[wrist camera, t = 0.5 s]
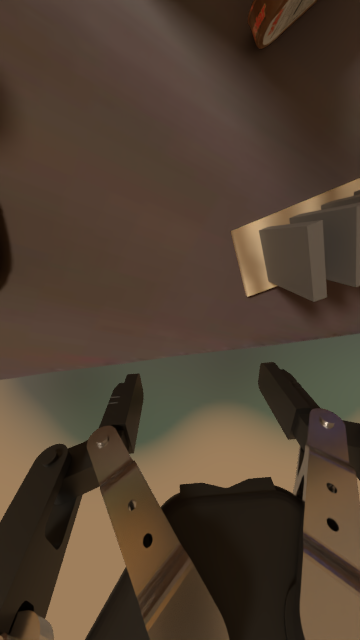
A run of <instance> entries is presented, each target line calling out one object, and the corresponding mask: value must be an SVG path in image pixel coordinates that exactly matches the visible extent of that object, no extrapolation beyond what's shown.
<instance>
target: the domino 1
mask: <svg viewBox="0 0 360 640" xmlns="http://www.w3.org/2000/svg"><path fill="white" fill-rule="evenodd" d="M259 234H260V240H261V245H262V250H263V256H264V261H265V266H266V272H267V277H268V281H269V282H271V283H273V284H275V285H277V286H280V287H282V288H284V289H286V290H288V291H291V292H293V293H295V294H297V295H300V296H302V297H304V298H306V299H308V300H311V301H313V302H315V301H318V300H321V299H324V298H327V288H326V270H325V253H324V235H323V220H319V221H310V222H302V223H294V224H286V225H278V226H270V227H266V228H264V229H261V230H259Z"/></svg>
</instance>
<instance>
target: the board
mask: <svg viewBox="0 0 360 640" xmlns="http://www.w3.org/2000/svg"><path fill="white" fill-rule="evenodd" d="M358 190H360V178H359V179H356V180H354V181H351V182H349V183H347V184H344V185H342V186H339V187H337V188H334V189H332V190H330V191H327V192H325V193H322V194H320V195H318V196H315V197H313V198H310V199H308V200H305V201H303V202H301V203H298V204H296V205H293V206H291V207H288V208H286V209H284V210H281V211H279V212H276V213H274V214H272V215H269V216H267V217H264V218H262V219H259V220H257V221H255V222H252V223H250V224H247V225H245V226H242V227H240V228H238V229H235V230H233V231H231V235H232V239H233V244H234V248H235V252H236V256H237V260H238V264H239V268H240V272H241V276H242V280H243V284H244V288H245V292H246V296H247V297H249V296H252V295H254V294H257V293H260V292H262V291H265V290H268V289H271V288H273V287H276V286H277V285H275V284H273V283H271V282H269V281H268V277H267V272H266V266H265V261H264V256H263V250H262V245H261V240H260V234H259V230H261V229H264V228H266V227H270V226H278V225H286V224H290V221H289V218H291V217H293V216H296V215H298V214H302V213H308V212H313V211H318V210H321V205H323V204H325V203H328V202H330V201H334V200H338V199H342V198H347V197H351V196H354V192H355V191H358Z"/></svg>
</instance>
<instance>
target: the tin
mask: <svg viewBox="0 0 360 640" xmlns="http://www.w3.org/2000/svg"><path fill="white" fill-rule="evenodd" d="M317 1H318V0H254V1H253V3H252V6H251V8H250V11H249V15H248V24H249V26H250V28H251V31H252V34H253V37H254V40H255V43H256V45H257V47H258V48H259V49H263V48H265V47H267V46H268V45H269V44H271V43H272V42H273V41H274V40H275V39H276V38H278V37H279V36H280V35H281V34H282V33H283V32H284V31H285V30H286V29H287V28H288V27H290V26H291V25H292V24H293V23H294V22H295V21H296V20H297V19H298V18H299V17H301V16H302V15H303V14H304V13H305V12H306V11H307V10H308V9H309V8H310V7H311V6H312V5H313V4H314V3H316V2H317Z"/></svg>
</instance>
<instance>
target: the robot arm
mask: <svg viewBox="0 0 360 640" xmlns="http://www.w3.org/2000/svg"><path fill="white" fill-rule="evenodd" d="M258 385H259V389H260V391H261V393H262V395H263V396H264V398H265V400H266V401H267V403H268V405H269V407H270V409H271V410H272V412H273V414H274V416H275V417H276V419H277V421H278V423H279V424H280V426H281V428H282V430H283V431H284V433H285V435H286V437H287V438H288V439H296V440H297V441H298V443H299V445H300V447H299V454H298V462H297V471H296V480H295V485H294V490H293V494H292V493H291V492H289V491H287V490H285V489H283V488H281V487H278V486H274V484H273V482H272V479H271V477H265V478H253V479H247V480H245V481H242V482H241V483H238V484H236V485H234V486H231V487H229V488H222V487H218V486H214V485H209V484H205V483H194V484H182V485H180V493H178V494H176V495H174V496H172V497H171V498H170V499H168V500H167V501H166V502H165V503H164V504H163V505H162V506H161V507H160V506H159V504H158V502H157V500H156V498H155V497H154V495H153V493H152V491H151V489H150V488H149V486H148V484H147V482H146V480H145V479H144V476H143V475H142V473H141V471H140V469H139V467H138V466H137V464H136V462H135V461H133V460H132V459H131V457H130V455H129V454H130V453H134V449H135V444H136V438H137V433H138V427H139V421H140V416H141V410H142V405H143V388H142V383H141V378H140V374H128V375H127V377H126V379H125V382H124V383H119V384H118V385H117V387H116V388H115V389H114V390H113V393H112V395H111V398H110V400H109V404H108V406H107V408H106V411H105V414H104V416H103V419H102V421H101V424H100V426H99V429H97V430H96V431H95V432H93V434H92V435H91V436H90V437H89V439H88V440H87V441H85V442H83V443H81V444H78V445H76V446H73V447H71V448H68V449H67V447H66V446H65V445H63V444H56V445H53V446H51V447H49V448H47V449H46V450H44V451H43V452H42V453H41V454H40V455H39V456H38V457H37V458H36V460H35V461H34V463H33V465H32V467H31V468H30V470H29V472H28V474H27V475H26V477H25V479H24V481H23V483H22V485H21V486H20V488H19V490H18V492H17V493H16V495H15V497H14V499H13V500H12V502H11V504H10V506H9V507H8V509H7V511H6V513H5V515H4V516H3V518H2V520H1V522H0V640H54V635H53V629H52V626H51V624H50V623H49V622H48V621H47V620H46V619H45V617H46V614H47V610H48V607H49V604H50V600H51V597H52V594H53V591H54V587H55V584H56V580H57V577H58V574H59V571H60V567H61V564H62V561H63V558H64V554H65V550H66V548H67V544H68V541H69V538H70V534H71V531H72V528H73V525H74V521H75V518H76V514H77V511H78V508H79V505H80V501H81V498H82V495H83V494H84V493H87V492H89V491H91V490H93V489H95V488H97V487H99V486H100V490H101V493H102V496H103V499H104V502H105V505H106V508H107V511H108V514H109V517H110V520H111V523H112V526H113V529H114V532H115V535H116V538H117V541H118V544H119V547H120V550H121V552H122V555H123V559H124V561H125V564H126V568H125V569H124V571H123V573H122V575H121V577H120V579H119V581H118V582H117V584H116V585H115V587H114V589H113V591H112V593H111V594H110V596H109V598H108V600H107V602H106V603H105V605H104V607H103V608H102V610H101V612H100V614H99V616H98V617H97V619H96V621H95V623H94V624H93V626H92V628H91V630H90V631H89V633H88V635H87V637H86V639H85V640H360V502H359V494H358V486H357V478H358V479H359V480H360V424H359V423H354V422H348V421H343V420H341V418H339V417H338V416H337V415H336V414H334V413H333V412H330V411H328V410H326V409H321V408H320V407H319V406H318V405H317V404H316V403H315V402H314V400H313V399H312V398H311V397H310V396H309V395H308V393H307V392H306V391H305V390H304V389H303V388H302V387H301V385H300V384H299V383H298V382H297V381H296V379H295V378H294V377H293V376H292V375H291V374H290V373H288V372H287V371H285V370H284V369H283V370H280V369H279V368H278V366H277V365H276V364H275V363H274V362H269V363H261V365H260V372H259V380H258ZM356 476H357V477H356Z"/></svg>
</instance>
